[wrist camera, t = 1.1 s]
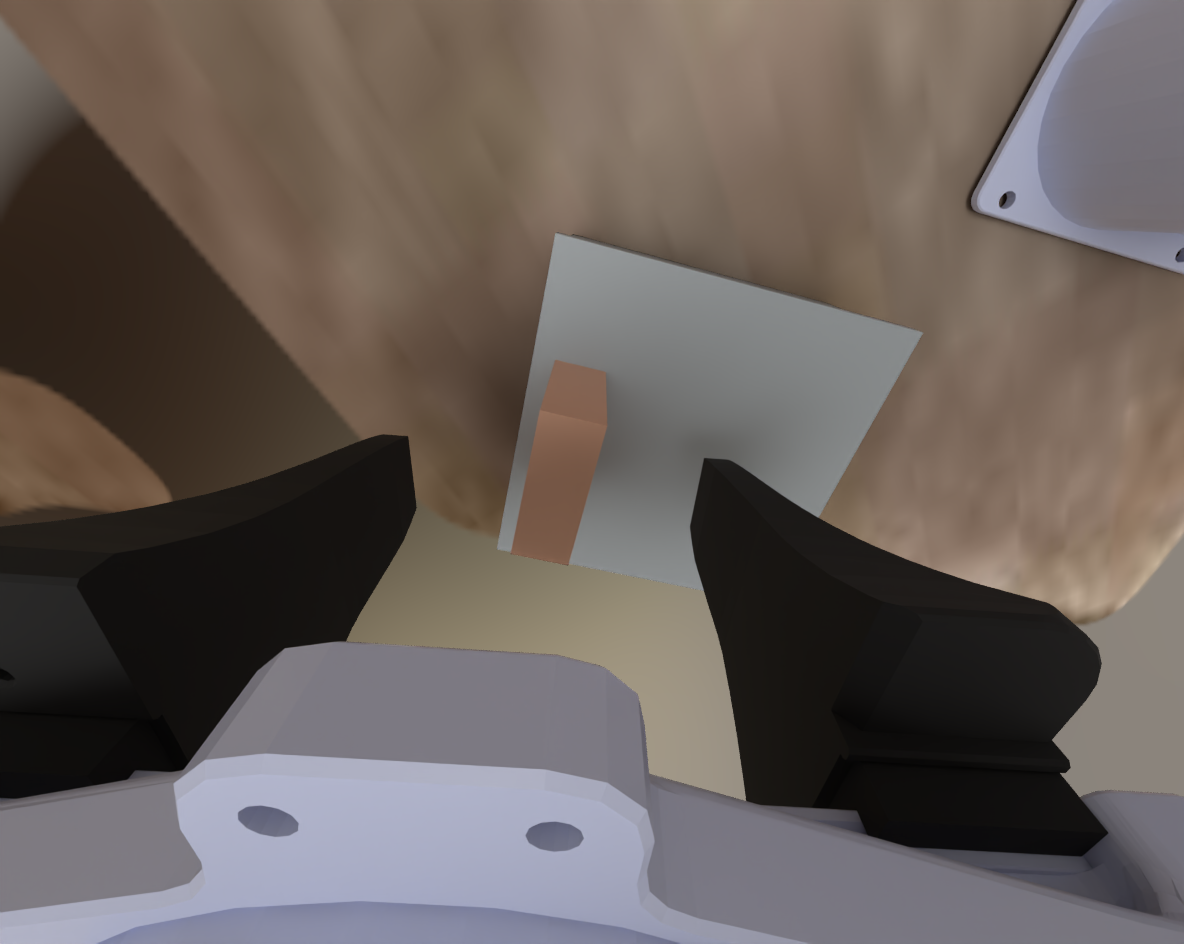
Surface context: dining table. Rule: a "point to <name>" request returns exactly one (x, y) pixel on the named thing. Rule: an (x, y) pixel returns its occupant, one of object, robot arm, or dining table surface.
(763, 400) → the lid
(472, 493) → the dining table surface
